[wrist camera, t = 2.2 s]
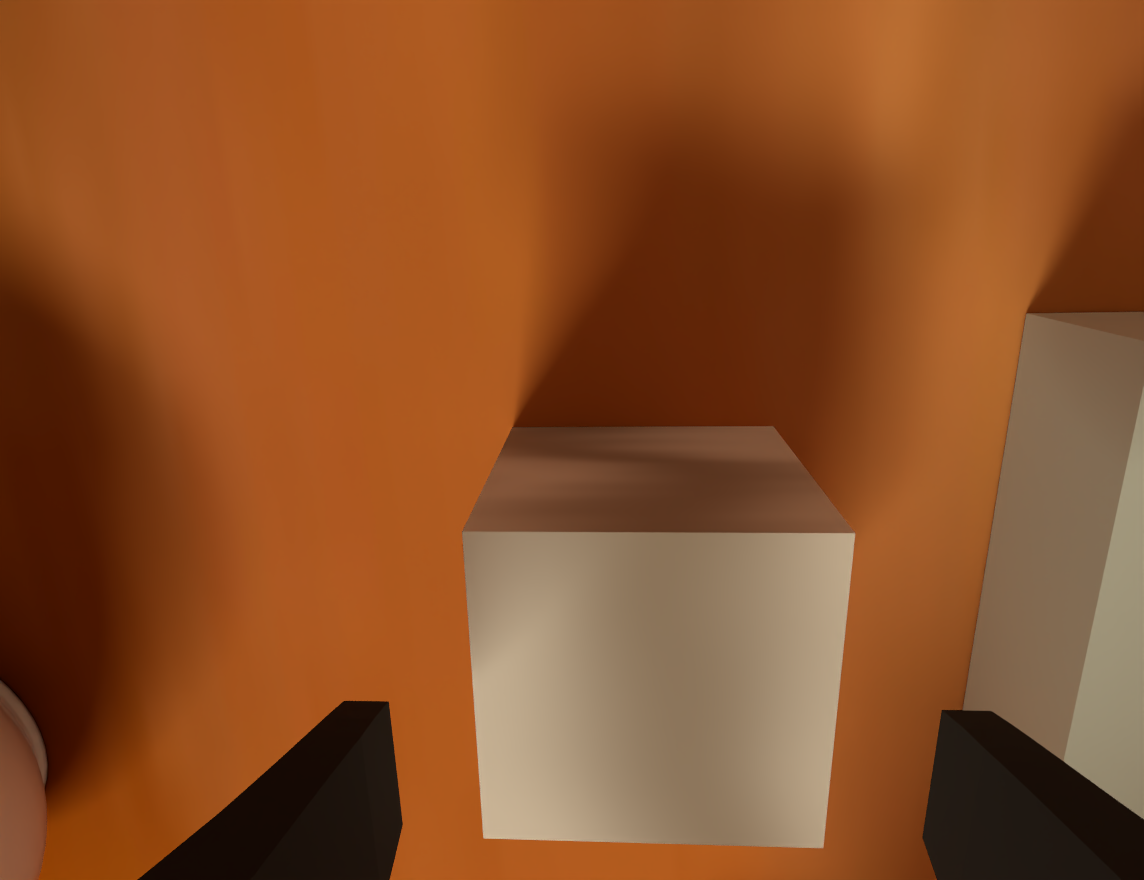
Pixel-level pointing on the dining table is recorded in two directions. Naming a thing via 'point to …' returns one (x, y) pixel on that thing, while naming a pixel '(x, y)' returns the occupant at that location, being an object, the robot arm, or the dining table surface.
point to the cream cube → (655, 637)
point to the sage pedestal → (1071, 552)
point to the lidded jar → (21, 790)
